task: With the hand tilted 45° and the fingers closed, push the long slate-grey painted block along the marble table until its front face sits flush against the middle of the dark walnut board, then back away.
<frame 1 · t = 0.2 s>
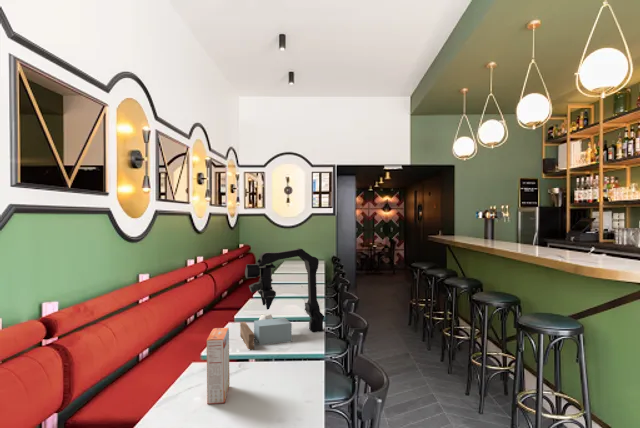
hand: (265, 307, 205), 15 cm above the table, tool pointing down, fingers open, 9 cm apart
walnut board: (246, 342, 194), on the table
slate block: (272, 340, 198), on the table
cracker box: (218, 395, 135), on the table
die: (266, 330, 217), on the table
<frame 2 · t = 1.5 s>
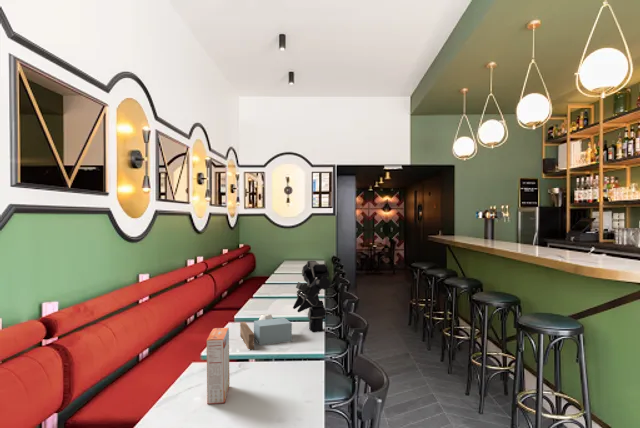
hand: (295, 310, 203), 14 cm above the table, tool tilted 45°, fingers open, 8 cm apart
nothing on the table moved.
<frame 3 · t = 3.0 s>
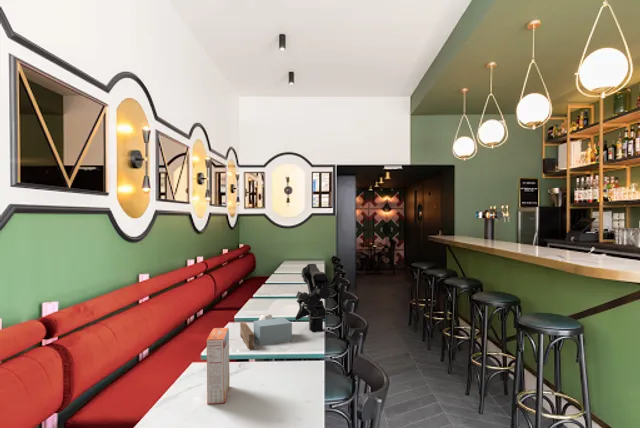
hand: (295, 319, 203), 9 cm above the table, tool tilted 45°, fingers closed
nothing on the table moved.
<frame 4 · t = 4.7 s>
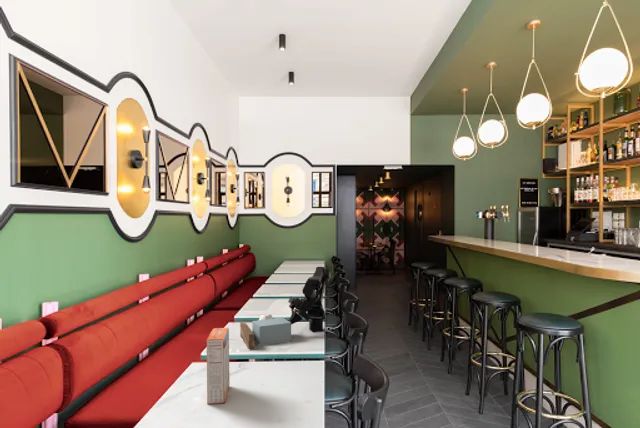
hand: (287, 324, 201), 7 cm above the table, tool tilted 45°, fingers closed
slate block: (271, 340, 198), on the table, touching gripper
everything else where it was.
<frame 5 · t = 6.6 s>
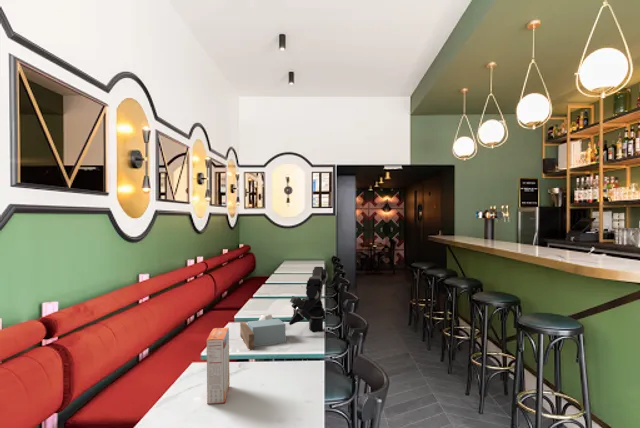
hand: (289, 324, 202), 7 cm above the table, tool tilted 45°, fingers closed
slate block: (266, 341, 197), on the table
everything else where it was.
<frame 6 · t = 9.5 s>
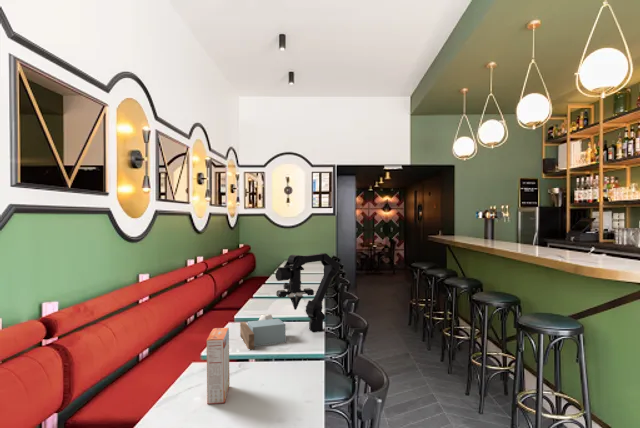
hand: (295, 309, 207), 13 cm above the table, tool pointing down, fingers closed
nothing on the table moved.
at the end: slate block 0.6 cm from the target spot on the table beside the walnut board, on the table; slate block tilted 0° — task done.
